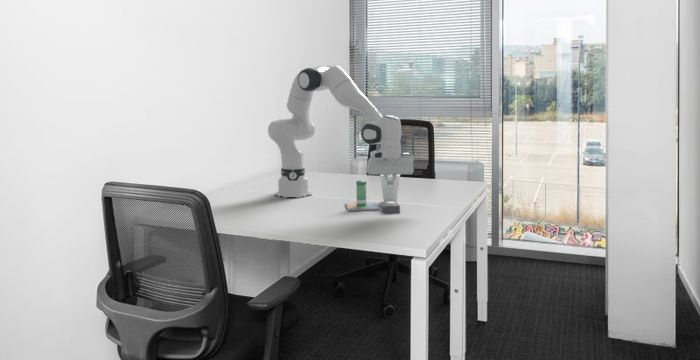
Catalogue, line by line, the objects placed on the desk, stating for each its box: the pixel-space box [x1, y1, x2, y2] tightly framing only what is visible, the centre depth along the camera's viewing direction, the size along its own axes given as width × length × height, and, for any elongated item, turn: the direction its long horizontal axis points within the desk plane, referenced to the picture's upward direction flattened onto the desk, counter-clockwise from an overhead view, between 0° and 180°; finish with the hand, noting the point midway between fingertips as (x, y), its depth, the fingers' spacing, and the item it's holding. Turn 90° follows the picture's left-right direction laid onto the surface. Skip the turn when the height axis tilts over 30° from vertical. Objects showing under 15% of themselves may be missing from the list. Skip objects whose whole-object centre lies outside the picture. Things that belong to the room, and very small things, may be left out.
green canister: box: [355, 180, 367, 206], centre depth 247 cm, size 5×5×11 cm
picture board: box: [344, 202, 381, 212], centre depth 247 cm, size 15×14×1 cm
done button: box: [384, 201, 397, 206], centre depth 238 cm, size 4×4×3 cm
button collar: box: [380, 202, 401, 214], centre depth 238 cm, size 7×7×3 cm
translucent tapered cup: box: [379, 174, 401, 203], centre depth 258 cm, size 10×9×13 cm
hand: (390, 184), depth 237 cm, fingers closed
